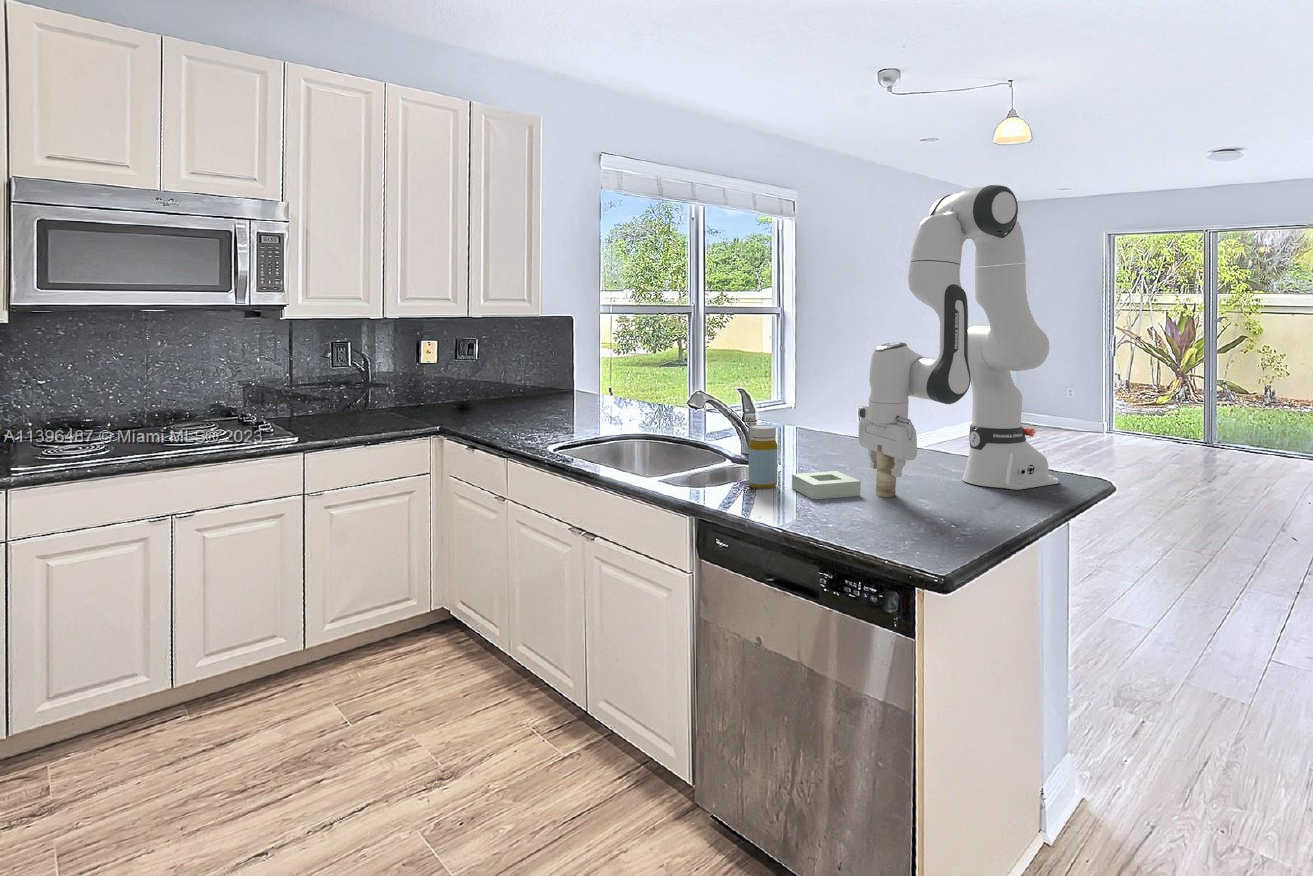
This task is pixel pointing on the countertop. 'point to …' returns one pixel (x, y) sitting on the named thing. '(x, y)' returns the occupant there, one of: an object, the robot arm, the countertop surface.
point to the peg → (885, 475)
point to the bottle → (763, 457)
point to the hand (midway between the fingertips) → (885, 472)
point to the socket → (826, 485)
